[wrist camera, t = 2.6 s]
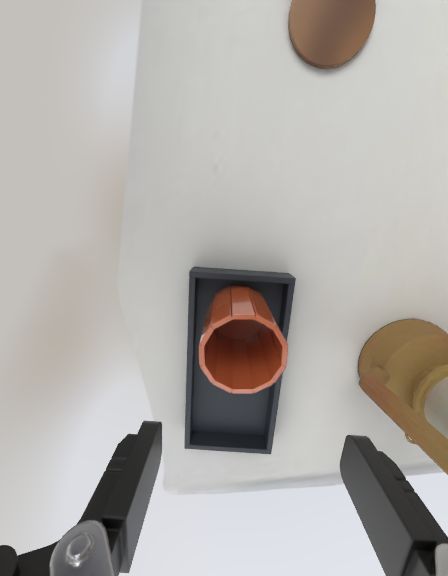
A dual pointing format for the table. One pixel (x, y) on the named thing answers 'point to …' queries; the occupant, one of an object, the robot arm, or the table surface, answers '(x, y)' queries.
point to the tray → (215, 401)
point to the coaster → (330, 29)
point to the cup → (241, 341)
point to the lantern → (411, 382)
